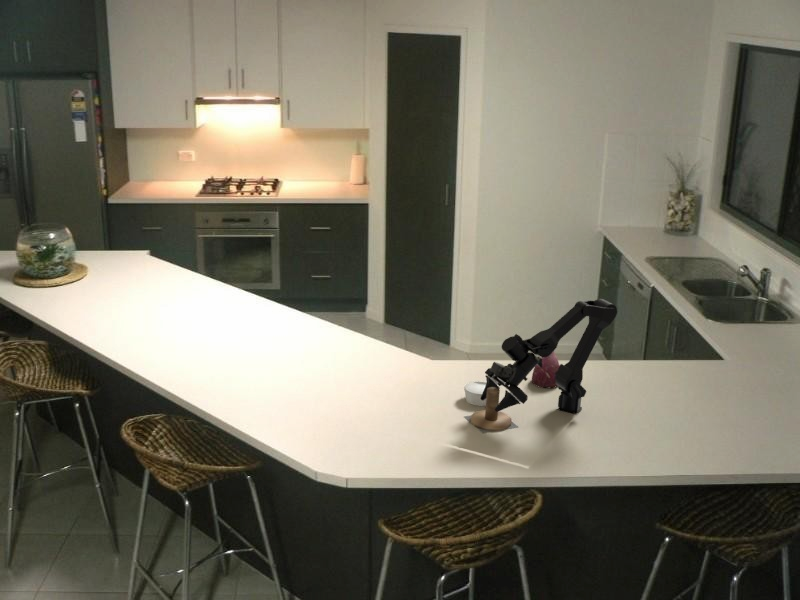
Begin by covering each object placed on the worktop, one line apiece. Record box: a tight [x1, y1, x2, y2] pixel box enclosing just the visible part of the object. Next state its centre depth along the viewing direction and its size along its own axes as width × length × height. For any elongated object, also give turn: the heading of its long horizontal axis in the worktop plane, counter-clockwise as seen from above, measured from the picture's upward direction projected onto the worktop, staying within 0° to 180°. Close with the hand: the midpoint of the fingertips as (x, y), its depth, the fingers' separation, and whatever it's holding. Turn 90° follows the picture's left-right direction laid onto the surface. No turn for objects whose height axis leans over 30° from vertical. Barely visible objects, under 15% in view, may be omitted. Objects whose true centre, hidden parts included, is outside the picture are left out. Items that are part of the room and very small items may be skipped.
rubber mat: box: [463, 414, 519, 434], centre depth 322 cm, size 13×13×1 cm
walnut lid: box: [470, 387, 513, 432], centre depth 320 cm, size 13×13×11 cm
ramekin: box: [463, 380, 487, 407], centre depth 337 cm, size 11×11×5 cm
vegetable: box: [531, 350, 560, 388], centre depth 355 cm, size 10×10×15 cm
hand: (488, 405), depth 319 cm, fingers open, 9 cm apart
